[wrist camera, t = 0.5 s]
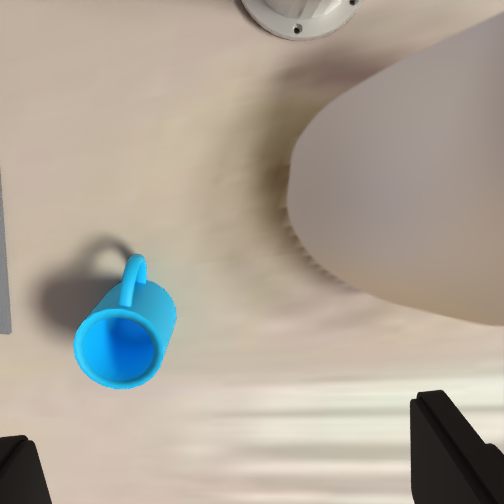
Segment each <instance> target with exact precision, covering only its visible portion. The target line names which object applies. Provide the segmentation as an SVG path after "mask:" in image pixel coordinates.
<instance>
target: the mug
mask: <svg viewBox="0 0 504 504" xmlns="http://www.w3.org/2000/svg"><path fill="white" fill-rule="evenodd" d="M175 322H176V307H175V305H174V302H173V300H172V298H171V297H170V295H169V294H168V293H167V292H166V291H165V289H163V288H162V287H160V286H159V285H157V284H156V283H154V282H151V281H147V267H146V261H145V259H144V257H143V256H142V255H140V254H135V255H132V256H131V257H130V258H129V260H128V261H127V264H126V267H125V270H124V273H123V277H122V281H121V283H119V284H117V285H116V286H115V287H113V288H112V289H111V290H110V291H109V292H108V293H107V294H106V295H105V296H104V298H103V299H102V300H101V301H100V302H99V303H98V305H97V306H96V307H95V308H94V309H93V310H92V312H91V313H90V314H89V315H88V316H87V318H86V319H85V320H84V321H83V322H82V324H81V325H80V327H79V328H78V330H77V332H76V335H75V339H74V344H73V346H74V353H75V358H76V360H77V362H78V364H79V366H80V368H81V370H82V371H83V372H84V373H85V374H86V375H87V376H88V377H89V378H90V379H92V380H93V381H95V382H97V383H99V384H100V385H102V386H106V387H110V388H114V389H130V388H133V387H136V386H140V385H142V384H144V383H145V382H147V381H148V380H150V379H151V378H152V377H153V376H154V375H155V373H156V372H157V371H158V369H159V368H160V366H161V363H162V360H163V357H164V355H165V352H166V349H167V346H168V343H169V340H170V338H171V335H172V332H173V329H174V326H175Z"/></svg>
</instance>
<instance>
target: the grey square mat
mask: <svg viewBox="0 0 504 504" xmlns="http://www.w3.org/2000/svg"><path fill="white" fill-rule="evenodd" d="M11 332H12V330H11V316H10V302H9V287H8V273H7V259H6V245H5V230H4V216H3V202H2V188H1V174H0V334H10V333H11Z"/></svg>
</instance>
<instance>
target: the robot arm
mask: <svg viewBox="0 0 504 504" xmlns="http://www.w3.org/2000/svg"><path fill="white" fill-rule="evenodd" d="M241 1H242V3H243V5H244V7H245V9H246V10H247V11H248V13H249V14H250V16H251V17H252V18H253V19H254V20H255V21H256V22H257V23H258V24H259V25H260V26H261V27H262V28H264V29H266V30H267V31H269V32H270V33H272V34H274V35H276V36H279V37H282V38H284V39H289V40H296V41H305V40H314V39H317V38H321V37H324V36H326V35H328V34H330V33H332V32H334V31H336V30H337V29H339V28H340V27H341V26H343V25H344V24H345V23H346V22H347V21H348V20H349V19H350V18H351V17H352V16H353V15H354V14H355V13H356V11H357V10H358V9H359V8H360V6H361V5H362V3H363V1H364V0H353V1H354V5H351V4H350V3H349V1H350V0H241ZM295 28H297V29H298V30H299V33H297V34H296V33H295V32H294V29H295ZM410 437H411V490H412V496H413V500H414V503H415V504H504V455H503V453H502V452H501V451H500V450H499V449H498V448H497V447H496V446H495V445H493V444H491V443H489V444H485V443H484V441H483V440H482V439H481V438H480V436H479V435H478V434H477V433H476V431H475V430H474V429H473V428H472V426H471V425H470V424H469V422H468V421H467V420H466V419H465V417H464V416H463V415H462V414H461V412H460V411H459V410H458V408H457V407H456V406H455V405H454V403H453V402H452V401H451V400H450V398H449V397H448V396H447V395H446V393H445V392H444V391H443V390H435V391H426V392H419V393H418V394H417V399H412V400H411V401H410ZM0 504H52V502H51V498H50V495H49V491H48V488H47V484H46V481H45V477H44V474H43V470H42V467H41V463H40V460H39V456H38V453H37V449H36V446H35V443H34V442H33V441H31V440H28V438H27V437H26V436H25V435H18V436H9V437H1V438H0Z"/></svg>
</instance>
